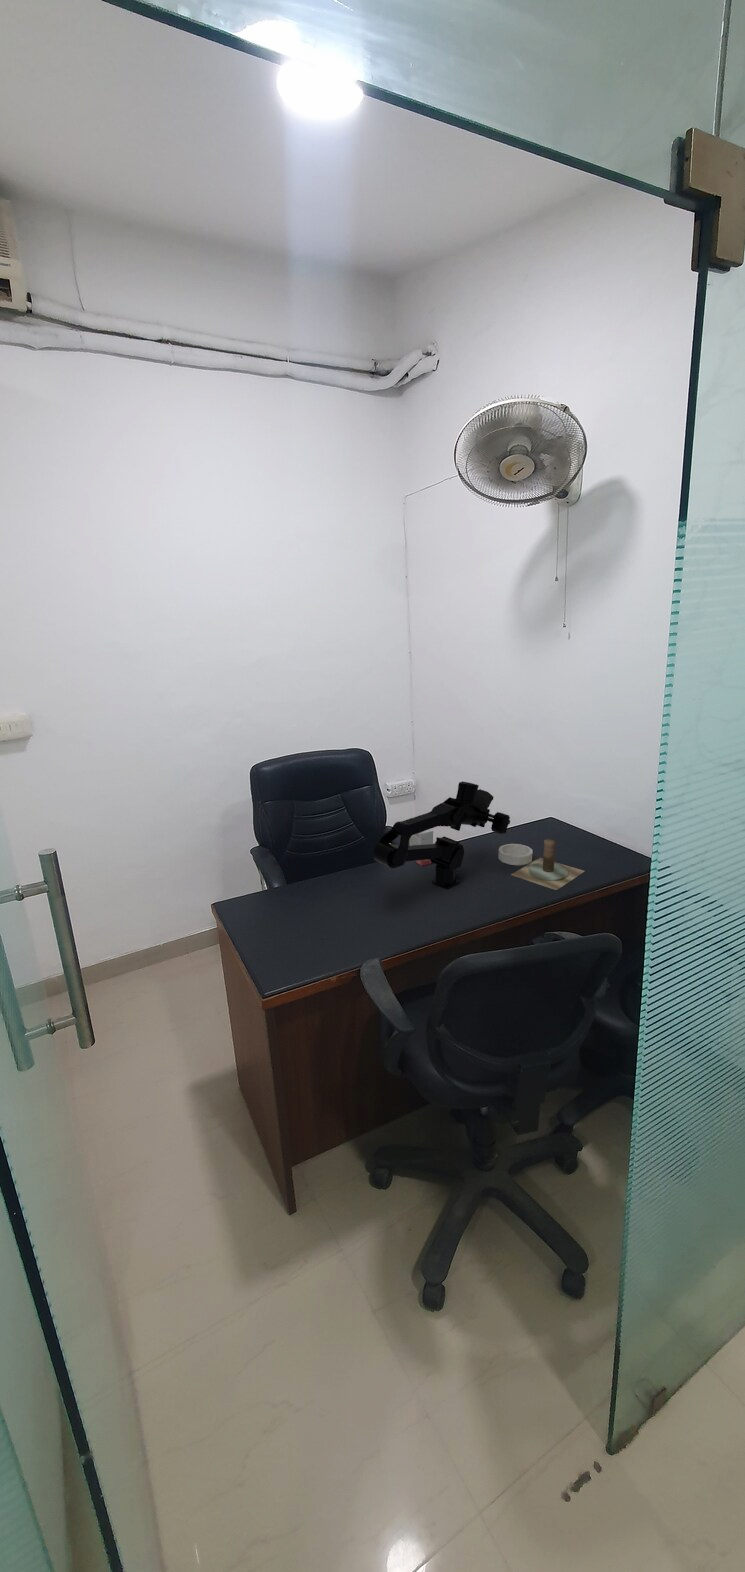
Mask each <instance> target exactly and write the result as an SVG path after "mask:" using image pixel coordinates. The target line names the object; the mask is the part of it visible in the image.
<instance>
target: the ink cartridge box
mask: <svg viewBox="0 0 745 1572" xmlns="http://www.w3.org/2000/svg"><path fill="white" fill-rule="evenodd" d="M411 818H412V817H410V818H409V819H411ZM427 844H434V830H432V829H429V830H426V831H423V832H420V833H417V834H415V835H412V836H411V838H410V839H409V846H412V845H427ZM414 862H416V864H418V865H419V866H421V867H422V866H426V865H431V861H430V859H428V860H417V861H414Z"/></svg>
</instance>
